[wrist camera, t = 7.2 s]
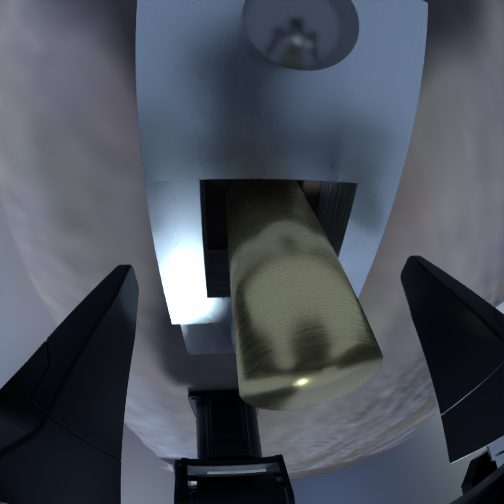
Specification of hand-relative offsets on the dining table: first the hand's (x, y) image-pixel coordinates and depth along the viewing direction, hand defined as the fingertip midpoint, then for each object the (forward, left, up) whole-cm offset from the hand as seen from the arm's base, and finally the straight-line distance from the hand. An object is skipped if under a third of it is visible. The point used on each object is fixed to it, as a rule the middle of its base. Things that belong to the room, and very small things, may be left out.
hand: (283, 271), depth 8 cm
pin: (0, 0, -4) cm, 4 cm away
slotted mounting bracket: (0, 0, -4) cm, 4 cm away
